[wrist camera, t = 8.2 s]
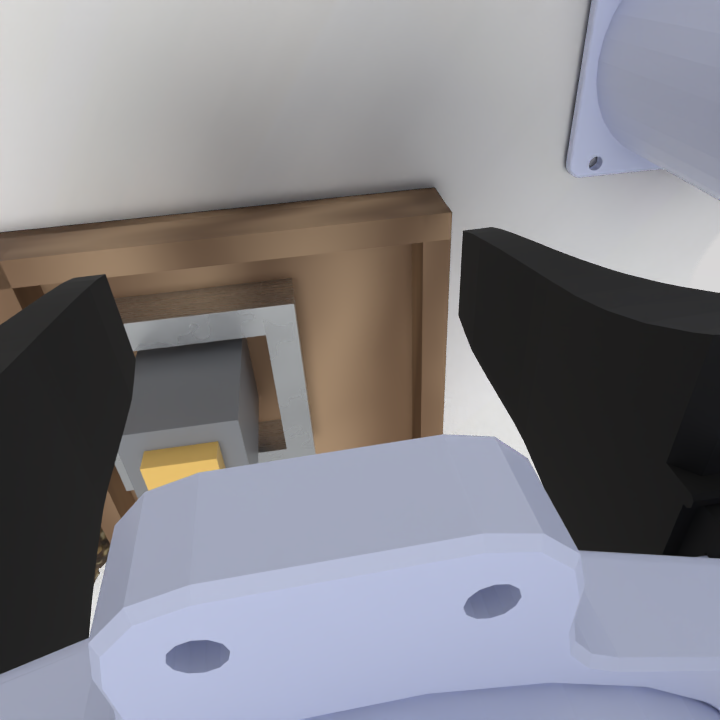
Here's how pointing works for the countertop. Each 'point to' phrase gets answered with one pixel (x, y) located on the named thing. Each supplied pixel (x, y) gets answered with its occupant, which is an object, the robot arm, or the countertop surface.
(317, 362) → the tray
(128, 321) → the socket
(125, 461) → the block
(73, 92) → the countertop surface
